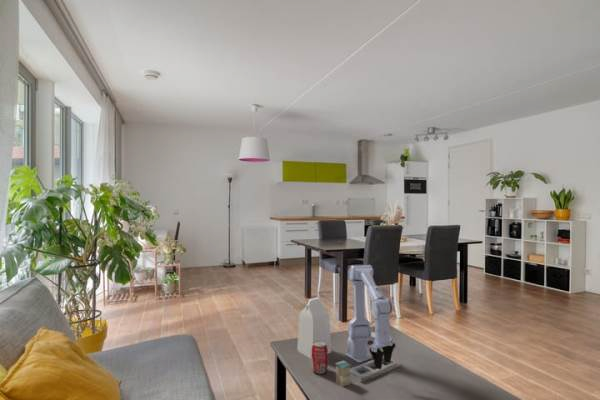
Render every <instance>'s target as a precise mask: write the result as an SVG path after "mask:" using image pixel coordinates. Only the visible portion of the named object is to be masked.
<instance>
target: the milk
mask: <svg viewBox="0 0 600 400" xmlns="http://www.w3.org/2000/svg"><path fill="white" fill-rule="evenodd" d="M297 328H298V329H297V330H298V331H297V347H296V348H297V350H296V351H297V352H298V353H300V354H302V355H304V356H305V357H306V358H309V359H310V360H311V353H312V345H313V342H315V341H324V342H325V343H326V345H327V348H328V354H331V353H332V343H331V341H332V340H331V325H330V314H329V312H328V310H327V309H326V308H325V306H324V305H323V303H322V300H321V298H320V297H315V298H314V297H313V298H310V299H308V301H307V304H306V306H305V307H304V308H303V309H302V310H301V311H300V312H299V315H298V327H297Z"/></svg>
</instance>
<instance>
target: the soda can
mask: <svg viewBox="0 0 600 400" xmlns="http://www.w3.org/2000/svg"><path fill="white" fill-rule="evenodd" d="M328 357H329V356H328V348H327V345H326V343H325V342H324V341H315V342H313V345H312V353H311V359H310V361H311V370H312V371H313V372H314V373H315V374H319V375H320V374H324V373H326V372H327V371H328V363H329V362H328Z"/></svg>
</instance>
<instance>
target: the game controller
mask: <svg viewBox="0 0 600 400" xmlns="http://www.w3.org/2000/svg"><path fill="white" fill-rule="evenodd" d="M374 341H375V331H371V337H370V338H369V340H367V343H369V342H372V343H374Z"/></svg>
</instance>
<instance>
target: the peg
mask: <svg viewBox="0 0 600 400" xmlns="http://www.w3.org/2000/svg"><path fill="white" fill-rule="evenodd" d="M351 368H352V364H350V363H348V362H347V361H346V360H342V361H341V360H340V361H337V362H335V383H336V384H338V385H339V386H341V387H342V388H343V387H345V386H348V385H350V384H351V376H350V369H351Z"/></svg>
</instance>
